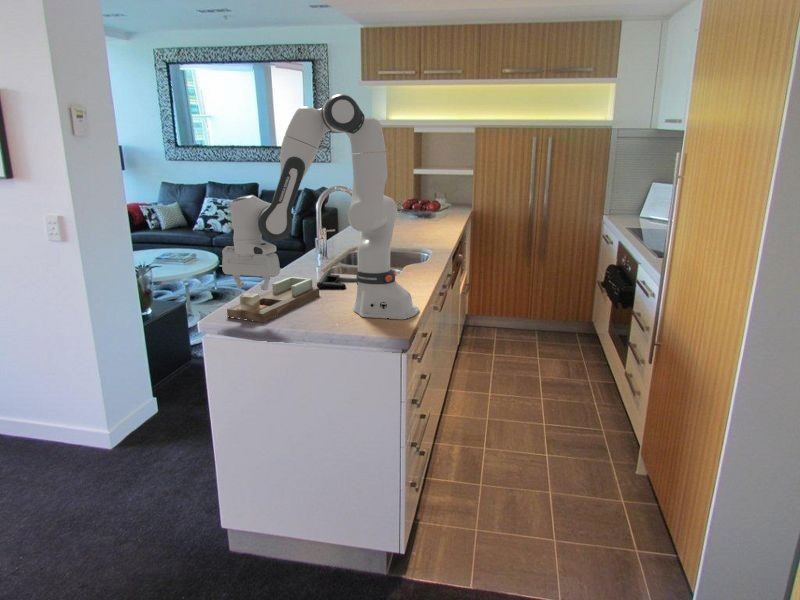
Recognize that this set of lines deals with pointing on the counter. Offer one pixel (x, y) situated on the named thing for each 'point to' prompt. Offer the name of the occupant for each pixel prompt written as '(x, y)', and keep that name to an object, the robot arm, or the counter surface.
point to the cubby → (293, 285)
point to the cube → (249, 301)
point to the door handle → (328, 278)
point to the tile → (254, 310)
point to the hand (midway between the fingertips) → (252, 288)
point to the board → (274, 304)
